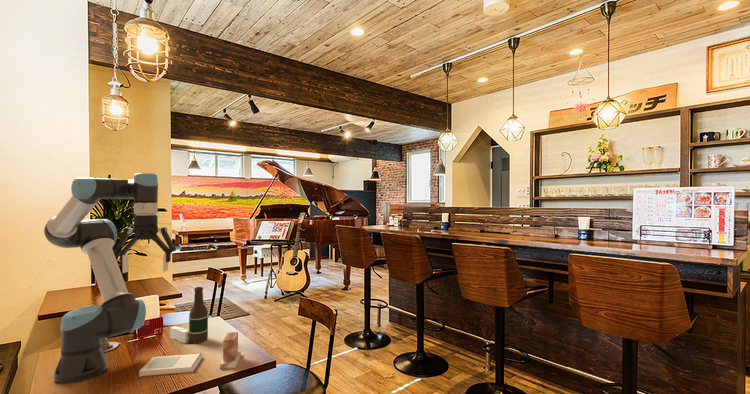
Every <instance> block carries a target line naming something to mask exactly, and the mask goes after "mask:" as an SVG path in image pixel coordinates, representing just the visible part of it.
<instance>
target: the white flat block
mask: <svg viewBox="0 0 750 394" xmlns="http://www.w3.org/2000/svg"><path fill="white" fill-rule="evenodd" d="M202 359H203V353H202V352H201V353H191V354H179V355H178V354H175V355H164V356H152V358H150V359H149V360H148V361H147V363H146V364H145V365H144V366H143V367H141V369H139V373H138V377H139V378H141V377H143V376H144V377H145V376H156V375H169V374H181V373H193V372H194V371H195V370H196V368H197V367H198V365H199V364H200V362H201V361H202Z"/></svg>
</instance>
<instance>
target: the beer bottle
mask: <svg viewBox="0 0 750 394" xmlns="http://www.w3.org/2000/svg"><path fill="white" fill-rule="evenodd" d="M193 291H194V298H193V299H194V300H193V306H192V308H191V310H190V311H189V314H188V315H189V317H188V330H189V342H188V343H190V344H192V345H196V344H202V343H204V342H206V341H207V340H208V338H209V336H208V335H209V312H208V308H207V307H206V305H205V303H204V294H203V292H204V287H203V286H196V287H194V290H193Z"/></svg>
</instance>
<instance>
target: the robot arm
mask: <svg viewBox="0 0 750 394" xmlns="http://www.w3.org/2000/svg"><path fill="white" fill-rule="evenodd" d="M158 180H159V179H158V175H157V174H156V173H149V172H136V173H135V174H134V176H133V178H131V179H129V178H128V179H127V178H104V177H102V178H101V177H89V176H87V177H76V178H74V179H73V181H72V182H71V183H72V184H71V190H70V191H71V194H72V195H71V197H70V198H69V199H68V201H67V202H66V203H65V205H64V206H63V207H62V208H61V209H60V211H59V212H58V213H57V214H56V216H53V217H51V218H50V219H48V221H47V222H46V223H45V226H44V229H43V232H44V236H45V239H46V240H47V241H48V242H49V243H51V244H52V245H54V246H56V247H58V248H64V249H70V248H71V249H72V248H73V249H75V248H80V250H81V252H82V253H83V254H84V255H87V257H88V260H89V262H90V266H91V268H92V271H93V274H94V276H95V279H96V283H97V286H98V289H99V292H100V296H101V298H102V300H103V302H102V303H101V305H100V304H92V305H85V306H80V307H77V308H75V309H72V310H69V311H68V312H67V313H65V314H64V315H62V317H61V322H60V328H59V329H60V330H59V331H60V358H59V359H58V362H57V364H56V366H55V367H56V368H55V370H54V373H53V381H54V380H55V381H54V382H56V381H57V382H56V383H58V382H62V383H61V384H68V383H69V382H71V383H77V382H81V380H82V381H84V380H89V379H92V378H95V377H96V376H99V375H101V374H102V373H103V372H105V371H106V370H107V368H108V360H107V358H106V355H105V352H104V353H103V351H102V348H101V341H102V339H105V338H106V339H108V338H112V337H116V336H119V335H123V334H127V333H131V332H133V331H136V330H139V329H141V327H142V326H143V325H144V323H145V320H146V315H147V307H146V304H145V302H144V300H142V299H139V298H138V299H136V297H135V295H134V294H133V293H132V292H129V291H128V288H127V285H126V283H125V280H124V277H123V274H125V273H128V272H129V253H128V252H129V251H130V250H131V248H132V247H133V246H134V245H135V244H136V243H137V242H138V241H139V240H140V241H143V240H146V241H148V240H149V241H150V240H152V241H153V242H154V243H155V244H156V245H158V247H160V248H161V250H162V251H163V252H164V253H163V254H162V256H163V257H162V271H163V272H167V271H169V263H170V262H171V261H172V260H171V259H172V256H171V255H172V253H173V252H175V251H177V248H176V246H175V243H174V242H173V240H172V239H171V237H170V235H169V233H168V228H167V227H166V226H164V227H160V228H159V227H158V223H159V222H158V217H159V216H158V215H157V214H158V207H159V206H158V204H159V203H158V200H159V199H158V197H159V195H158V193H159V192H158V190H159V183H158ZM102 199H103V200H107V199H109V200H113V199H114V200H116V199H117V200H133V214H134V216H133V228H131V227H125V228H124V229H123V233H122V236H121V237H120V239H119V241H118V243H117V245H116V247H115V248H114V250H113V247H114V246H115V243H116V241H117V239H118V234H117V232H118V231H117V230H118V229H117V227H116V225H115V223H114V222H113V221H111V220H109V219H108V218H95V219H85V218H86V216H87V215H88V214H89V213H90V212H91V211H92V210H93V208H94V207H95V206H96V205H97V203H99V202H100V201H101V200H102ZM132 233H133V234H134V235H133V237H132V238H131V239H130V241H127V240H129V237H130V235H132ZM158 233H160V234H161V235H162V237H163V240H164V241H165V242H164V241H163V240H162V239H161V238H160V236H159V235H158ZM127 242H128V243H127ZM125 244H126V245H125ZM115 254H118V255H119V263H120V265H121V264H122V272H121V269H120V266H119V264H118V261H117V257H116V255H115Z"/></svg>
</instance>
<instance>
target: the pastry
mask: <svg viewBox="0 0 750 394" xmlns="http://www.w3.org/2000/svg"><path fill="white" fill-rule="evenodd" d="M119 345H120V342H117V341H109V340H108V339H107V338H105V339H102V341H101V348H102V351H103V353H104V354H105V353H106V352H111V351H113V350H115V349H116V348H118V347H119ZM111 346H112V347H111ZM110 347H111V348H110Z"/></svg>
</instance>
